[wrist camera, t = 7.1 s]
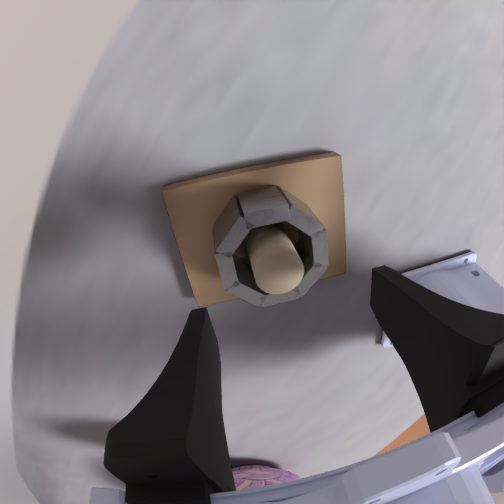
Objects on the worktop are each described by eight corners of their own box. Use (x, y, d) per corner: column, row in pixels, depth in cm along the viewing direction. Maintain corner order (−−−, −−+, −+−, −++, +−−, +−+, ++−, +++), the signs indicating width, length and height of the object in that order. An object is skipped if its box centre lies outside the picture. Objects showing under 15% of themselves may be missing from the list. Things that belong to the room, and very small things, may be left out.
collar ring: (305, 178, 17) (324, 197, 15) (313, 263, 20) (329, 290, 18) (205, 200, 17) (206, 222, 15) (226, 283, 20) (231, 314, 17)
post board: (334, 151, 18) (375, 175, 14) (340, 265, 22) (370, 310, 18) (163, 185, 17) (151, 221, 13) (198, 297, 21) (199, 351, 17)
